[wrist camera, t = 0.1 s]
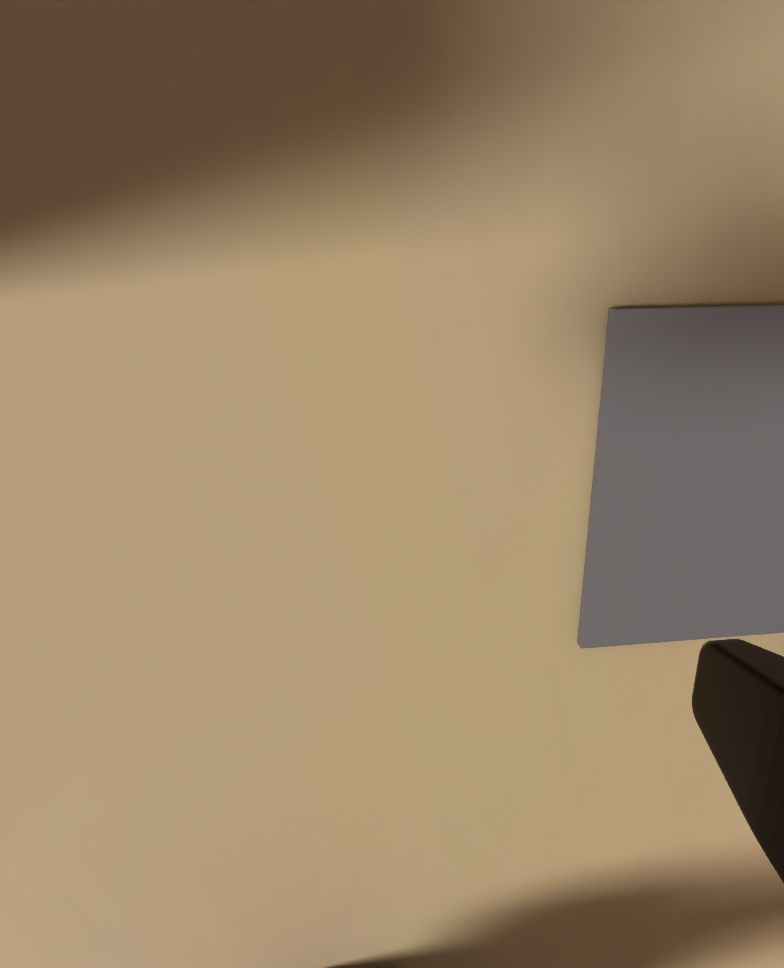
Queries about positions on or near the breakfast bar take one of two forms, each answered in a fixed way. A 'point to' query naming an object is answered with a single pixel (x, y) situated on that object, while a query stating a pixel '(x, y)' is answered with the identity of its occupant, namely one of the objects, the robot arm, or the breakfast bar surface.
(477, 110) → the breakfast bar surface
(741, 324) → the mat
